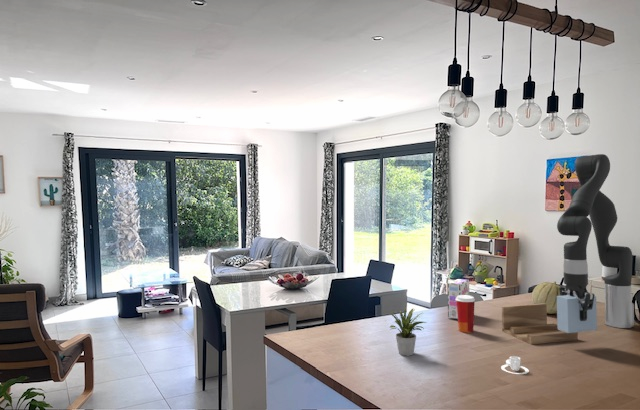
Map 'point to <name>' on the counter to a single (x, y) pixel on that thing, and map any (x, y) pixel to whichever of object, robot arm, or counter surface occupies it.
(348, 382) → the counter surface
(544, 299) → the cantaloupe
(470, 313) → the paper cup
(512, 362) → the teacup and saucer
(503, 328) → the track
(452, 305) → the candy box
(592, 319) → the panel
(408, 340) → the house plant
